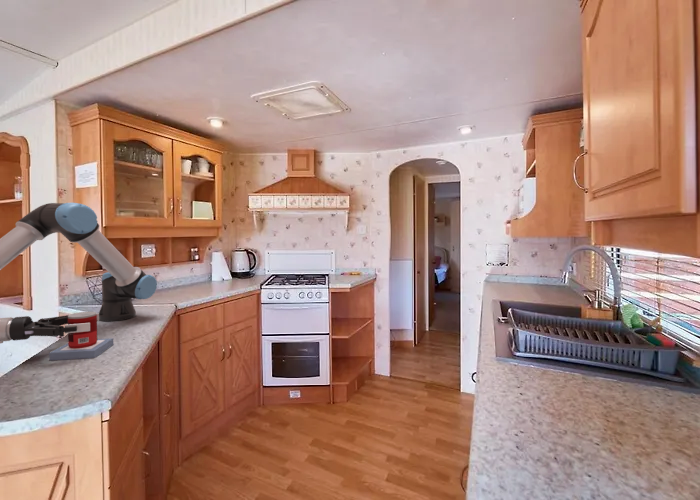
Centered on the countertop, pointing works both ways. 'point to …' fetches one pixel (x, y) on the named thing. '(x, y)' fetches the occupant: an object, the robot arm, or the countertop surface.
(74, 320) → the canned food
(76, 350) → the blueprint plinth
